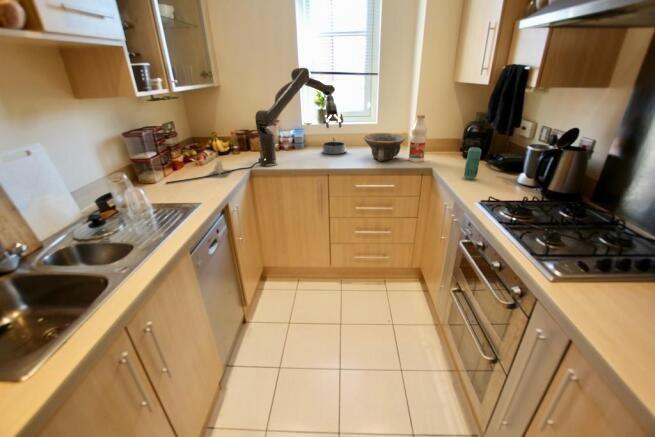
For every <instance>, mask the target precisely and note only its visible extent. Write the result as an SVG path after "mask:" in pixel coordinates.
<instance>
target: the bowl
mask: <svg viewBox="0 0 655 437" xmlns="http://www.w3.org/2000/svg"><path fill="white" fill-rule="evenodd" d="M363 140H364V142H365V143H366V144H367V145H368V147H370V149H371V155H372V156H373V159H375V160H378V161H379V162H384V161H390V160H393V159H394V157H395V158H396V157H397V156H398V155H399V153H400V151H401V145H402V144H403V143H404V141H405V140H406V137H405V136H404V135H402V134H399V133H391V132H390V133H389V132H376V133H375V132H374V133H369V134H365V135H364V136H363Z"/></svg>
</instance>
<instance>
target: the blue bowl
mask: <svg viewBox="0 0 655 437" xmlns="http://www.w3.org/2000/svg"><path fill="white" fill-rule="evenodd" d="M336 143H337V146H332V141H327V142H323V143H322V152H323V153H324V154H327V155H341V154H344V153H346V150H347V145H346V142H343V141H336Z"/></svg>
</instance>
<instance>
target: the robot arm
mask: <svg viewBox="0 0 655 437" xmlns="http://www.w3.org/2000/svg"><path fill="white" fill-rule="evenodd" d="M290 76H291V81H289V82H288V83H286V84H285V85H283V86H281V88H280V89H279V90H278V91H277V92H276V94H275V96H274V103H273V105H272V106H271V107H270V108H269V109H268V110H267V109H266V110H263V109H260V110H257V111H256V112H255V116H254V120H255V126H256V133H257V135H258V138H259V148H260V149H259V157H258V158H257V161H256V162H255V163H253V164H252V165H251V166H248V167H239V168H235V169H229V170H230V171H226V172H222V173H220V174H223V173H227V172H231V171H232V172H234V171H240V170H248V169H252V168H253V167H254V166H256V165H257V164H260V165H261V166H263V167H272V166H273V167H274V166H276V165H277V164H278V161H277V153H276V152H277V151H276V141H275V133H274V131H272V130H271V129H270V128H269V127H272V126H273V125H274V124H276V122H277V120H278V119H279V117H280V115H282V113H283V111H284V110H285V109H286V108H287V106H288V105H289V103H290V102H292V100H293V99H294V98H295V96H296V95H297V94H298V93H299V91H300V90H301V89H302V88H303V87H304V86H306V87H309V88H311V89H313V90H315V91H317V92H319V93H321V95H322V97H323V98H324V102H325V110H326V114H323V115H322V124H325V126H326V128H327V129H329V128H330V125H329V123H330V122H336V123H338V128H339V129H341V128H342V124H343V123H344V116H343V114H342V113H340V114H338V108H337V104H336V100H335V96H334V95H333V94H335V92H336V86H335V85H334V84H333V83H332V82H326V81H323V80H321V79H318V78H315V77H311V72H310V70H309V68H307V67H297V68H294V69H293V70H292V71H291V73H290ZM232 172H231V173H232ZM215 175H219V174H213V175H210V174H208V175H203V176H198V177H191V178H186V179H177V180H172V181H165V184H166V185H167V184H173V183H180V182H187V181H192V180H198V179H205V178H211V177H210V176H215Z"/></svg>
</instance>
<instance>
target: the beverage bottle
mask: <svg viewBox="0 0 655 437" xmlns="http://www.w3.org/2000/svg"><path fill="white" fill-rule="evenodd" d="M481 143H482V142H481V141H480V140H473V141H472V142H471V146H472V147H469V149H468V151H467V156H466V161H465V167H464V171H463V176H464V177H465V178H469V179H475V178H477V176H478V172H479V165H480V161H481V156H482V152H483V151H482V149H481V148H480V147H481Z"/></svg>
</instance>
